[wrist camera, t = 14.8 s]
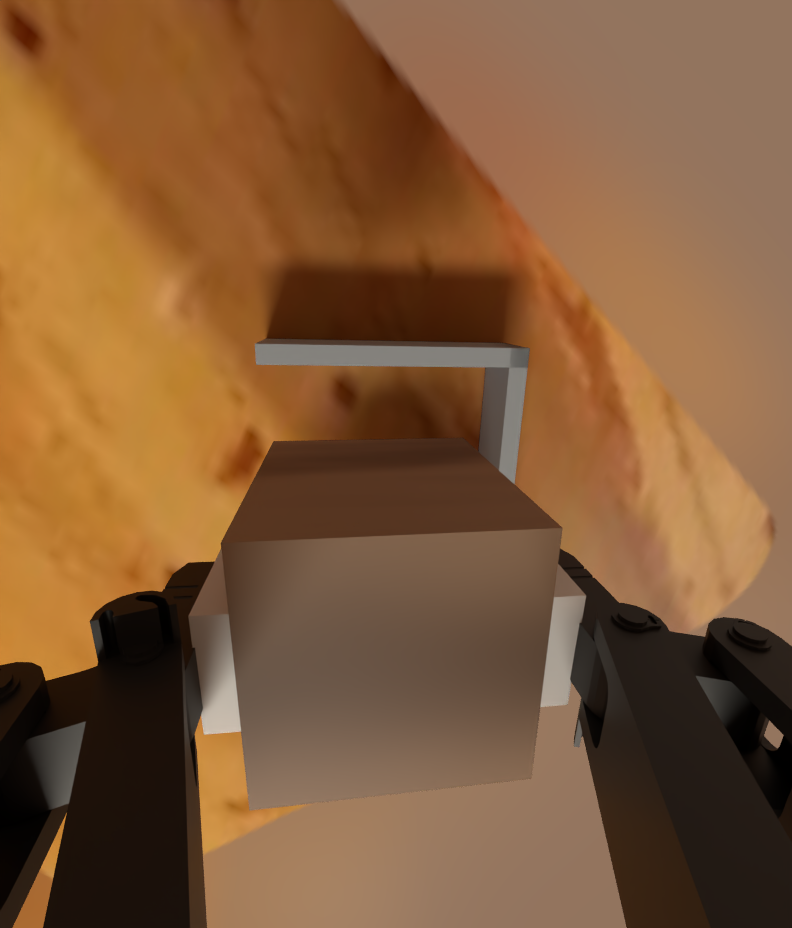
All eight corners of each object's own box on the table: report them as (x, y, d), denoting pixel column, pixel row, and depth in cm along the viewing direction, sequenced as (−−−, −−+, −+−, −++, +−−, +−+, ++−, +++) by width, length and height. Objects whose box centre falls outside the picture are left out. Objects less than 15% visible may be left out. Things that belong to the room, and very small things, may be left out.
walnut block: (273, 441, 14) (220, 543, 8) (462, 437, 15) (562, 527, 9) (285, 609, 16) (249, 810, 10) (454, 599, 17) (531, 778, 10)
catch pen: (266, 338, 26) (255, 343, 23) (503, 342, 28) (529, 348, 24) (287, 700, 35) (282, 748, 31) (471, 686, 36) (486, 729, 33)
